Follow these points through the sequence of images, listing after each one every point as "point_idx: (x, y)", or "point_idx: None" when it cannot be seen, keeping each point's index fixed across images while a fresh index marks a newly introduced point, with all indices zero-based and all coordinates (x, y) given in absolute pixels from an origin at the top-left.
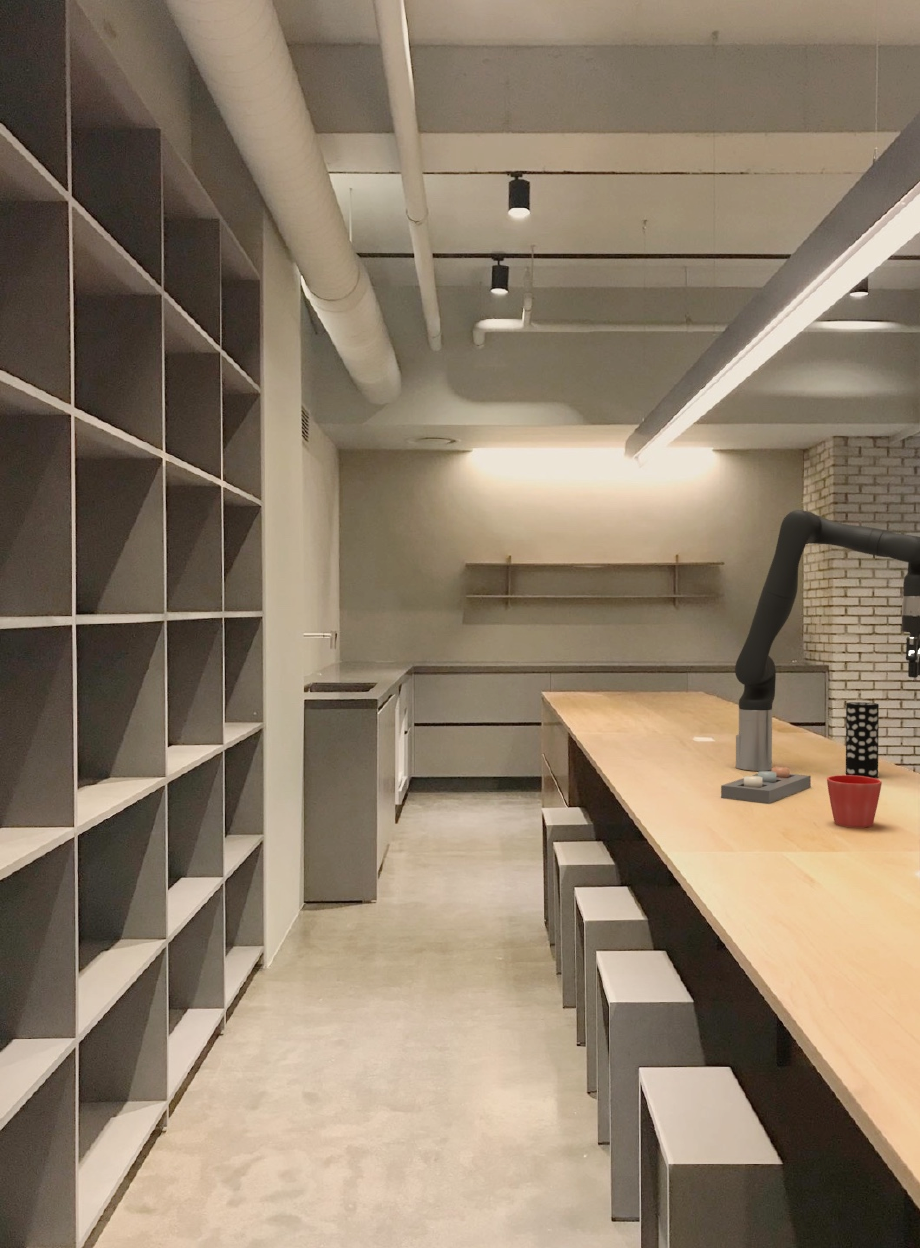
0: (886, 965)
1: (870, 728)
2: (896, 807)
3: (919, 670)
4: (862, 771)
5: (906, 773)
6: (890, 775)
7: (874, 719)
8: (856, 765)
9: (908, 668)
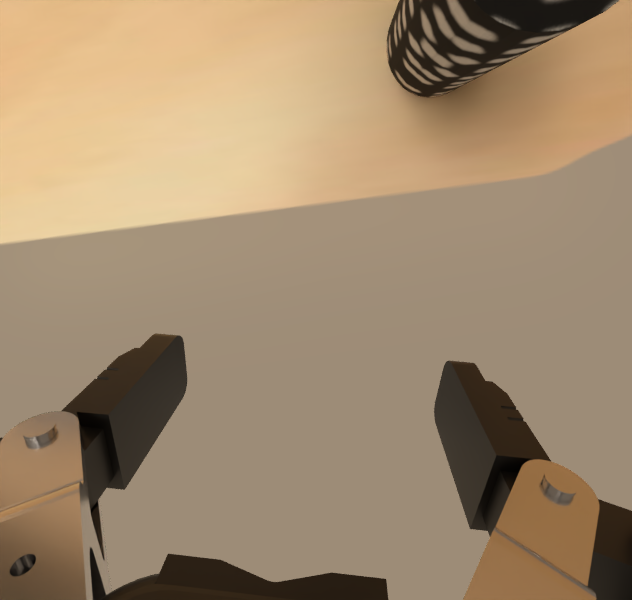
0: None
1: (429, 34)
2: (28, 212)
3: (449, 413)
4: (390, 48)
5: (550, 163)
6: (492, 125)
7: (457, 41)
8: (393, 20)
9: (117, 372)
